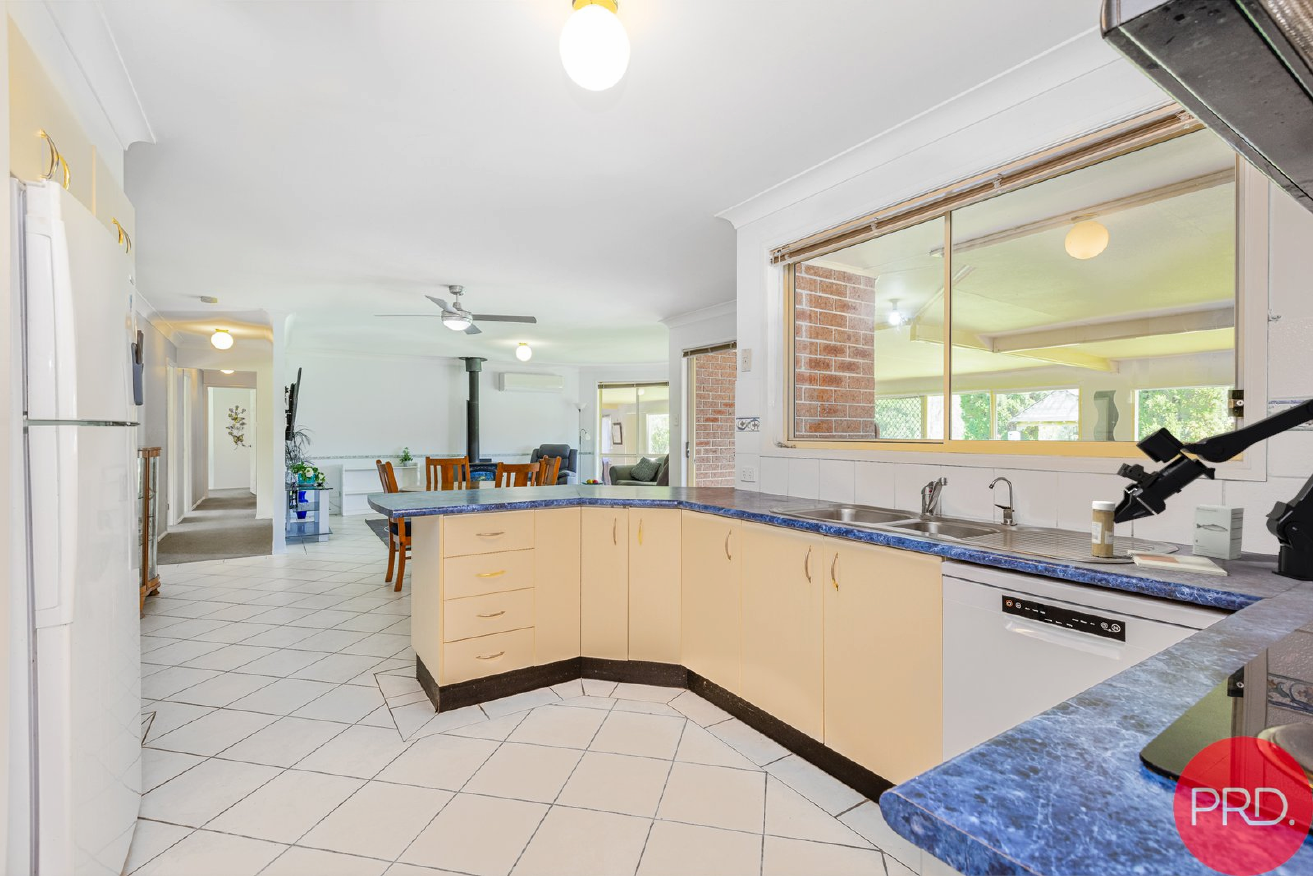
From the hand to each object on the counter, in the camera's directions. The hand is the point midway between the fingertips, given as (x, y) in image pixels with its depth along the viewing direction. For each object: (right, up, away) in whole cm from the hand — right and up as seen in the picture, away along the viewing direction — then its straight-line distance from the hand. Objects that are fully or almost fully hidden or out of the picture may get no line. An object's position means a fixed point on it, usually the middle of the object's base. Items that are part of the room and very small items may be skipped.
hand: (1112, 519), depth 146 cm
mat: (+10, -9, -6) cm, 15 cm away
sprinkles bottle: (-2, -9, +1) cm, 10 cm away
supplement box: (+29, -10, +4) cm, 31 cm away
